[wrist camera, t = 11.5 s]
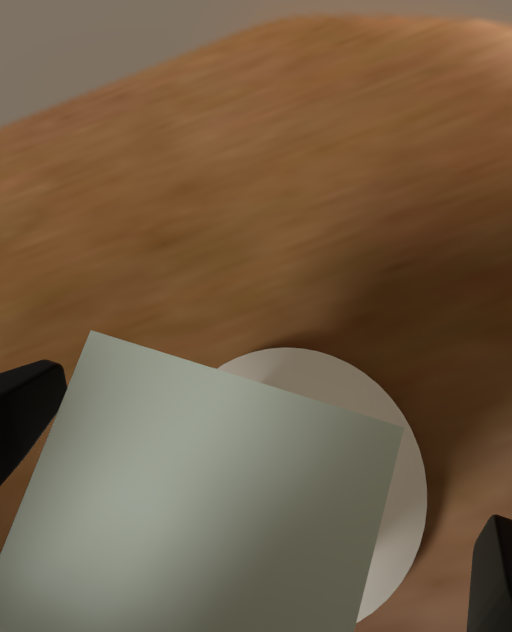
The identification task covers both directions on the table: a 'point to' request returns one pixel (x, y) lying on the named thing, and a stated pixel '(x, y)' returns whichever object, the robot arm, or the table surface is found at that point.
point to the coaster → (371, 400)
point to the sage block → (194, 504)
